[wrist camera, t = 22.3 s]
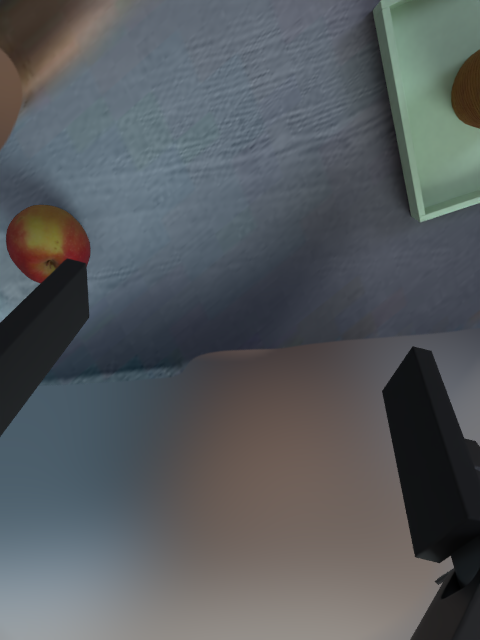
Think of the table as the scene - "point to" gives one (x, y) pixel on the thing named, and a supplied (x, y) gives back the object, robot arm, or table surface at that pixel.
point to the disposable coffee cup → (467, 91)
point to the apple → (45, 240)
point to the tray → (431, 99)
